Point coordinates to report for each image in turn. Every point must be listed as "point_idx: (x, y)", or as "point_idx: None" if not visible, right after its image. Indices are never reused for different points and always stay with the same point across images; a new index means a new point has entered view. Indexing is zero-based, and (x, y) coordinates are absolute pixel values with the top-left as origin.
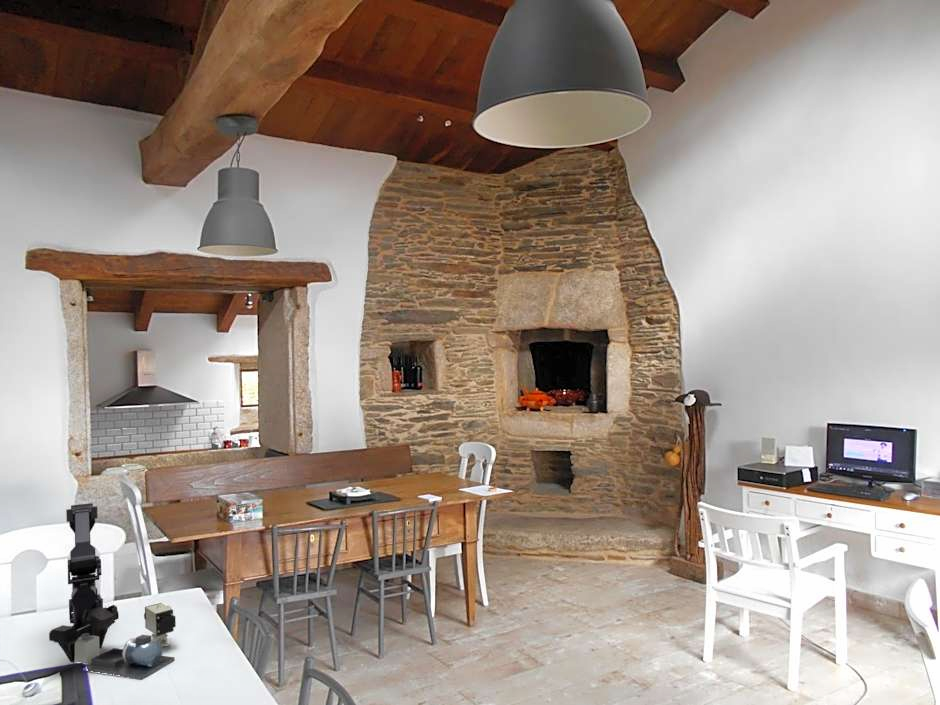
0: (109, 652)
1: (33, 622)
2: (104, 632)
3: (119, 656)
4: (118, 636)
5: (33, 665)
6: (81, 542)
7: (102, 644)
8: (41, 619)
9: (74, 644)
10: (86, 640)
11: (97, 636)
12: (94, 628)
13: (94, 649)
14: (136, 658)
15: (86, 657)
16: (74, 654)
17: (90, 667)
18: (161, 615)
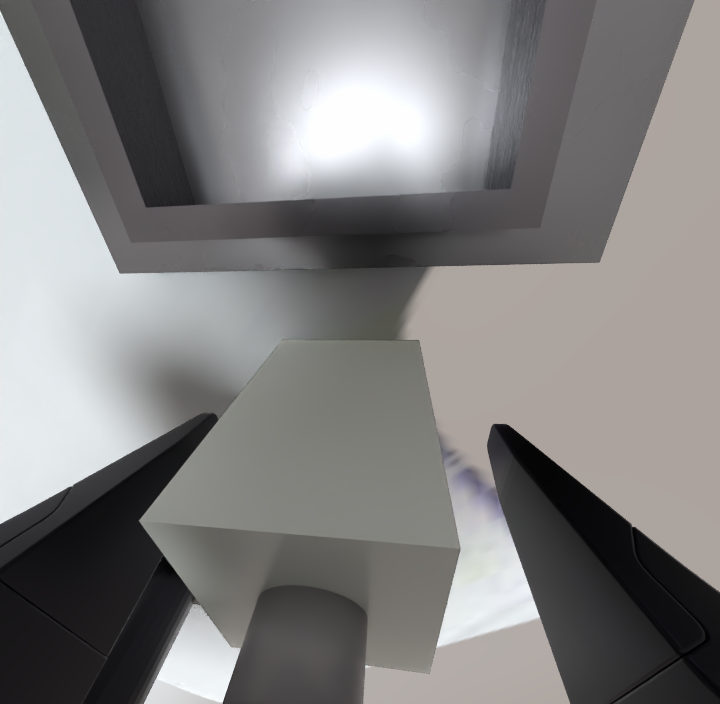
0: (230, 205)
1: (214, 678)
2: (18, 540)
3: (186, 26)
4: (44, 464)
5: (486, 573)
6: None
7: (173, 429)
8: (191, 675)
9: (691, 658)
10: (364, 582)
11: (158, 540)
12: (79, 678)
13: (307, 397)
14: None
15: (422, 373)
16: (537, 474)
17: (615, 134)
18: None
